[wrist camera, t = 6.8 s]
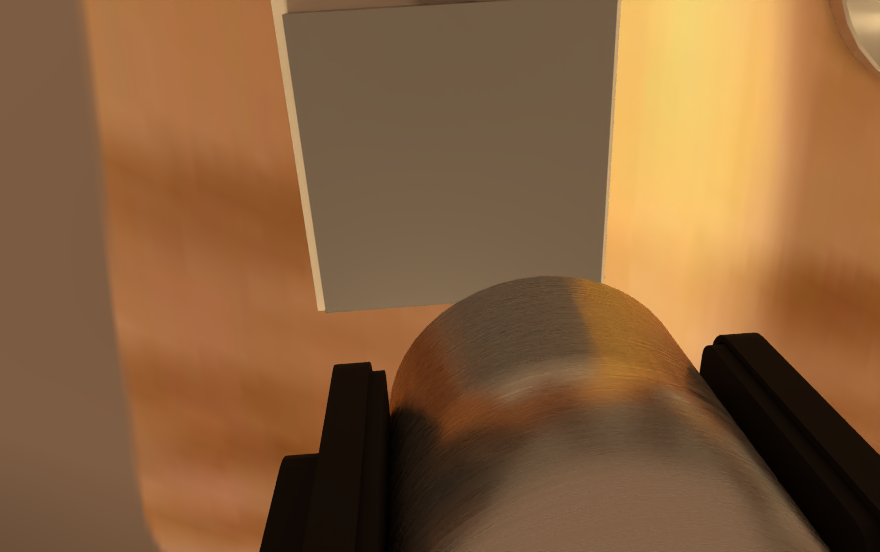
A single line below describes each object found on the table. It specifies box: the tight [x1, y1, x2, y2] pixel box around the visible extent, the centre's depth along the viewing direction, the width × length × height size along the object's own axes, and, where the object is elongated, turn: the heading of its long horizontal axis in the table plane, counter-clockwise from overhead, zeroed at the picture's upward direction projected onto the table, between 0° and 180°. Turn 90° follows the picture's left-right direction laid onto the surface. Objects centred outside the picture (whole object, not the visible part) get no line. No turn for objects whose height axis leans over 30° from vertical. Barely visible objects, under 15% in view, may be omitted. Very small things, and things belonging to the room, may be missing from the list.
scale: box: [271, 0, 621, 313], centre depth 24 cm, size 12×16×4 cm
